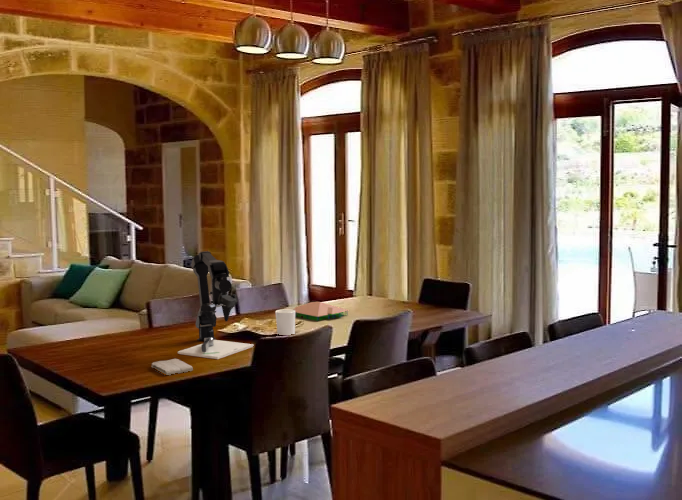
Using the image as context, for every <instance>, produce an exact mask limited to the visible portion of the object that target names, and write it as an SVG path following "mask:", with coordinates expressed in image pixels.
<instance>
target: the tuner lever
mask: <svg viewBox="0 0 682 500" xmlns="http://www.w3.org/2000/svg"><path fill="white" fill-rule="evenodd" d="M213 340H214V339H213V337H206V338H204V341H203V342H202V343H201V344H202V352H206V351H207V349H208V347H210V346H213Z"/></svg>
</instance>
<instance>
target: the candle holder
mask: <svg viewBox="0 0 682 500" xmlns="http://www.w3.org/2000/svg"><path fill="white" fill-rule="evenodd" d="M293 309H294V308H284V309H283V308H281V309H277V310H275V321H276V330H277V331H276V332H277V335H278V334H279V335H291V334H295V335H296V312H295V310H293Z"/></svg>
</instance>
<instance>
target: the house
mask: <svg viewBox="0 0 682 500" xmlns="http://www.w3.org/2000/svg"><path fill="white" fill-rule="evenodd" d="M292 309H293V310H295V318H299V317H300V315H304V318H305V319H308V318H309V319H312V320H313V321H316V322H318V318H319V322H320V321H322V320H323V319H326V320H331V319H334V320H335V319H336V316H338V317H341V316H343V317H344V316H349V315H348V312H350V309H347V308H342V307H338V306H336V305H331V304H328V303H325V302H321V301H310V302H308V303H305V304H301V305H298V306H295V307H294V308H292Z"/></svg>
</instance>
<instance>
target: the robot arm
mask: <svg viewBox="0 0 682 500" xmlns="http://www.w3.org/2000/svg"><path fill="white" fill-rule="evenodd" d="M191 269H192V272H193V273H194V275H195V276H196V277H197V278H196V279H197V285H198V286H197V288H198V295H199V310H198V311H197V317H196V320H195V328H196V329H198V337H199V338H197V339H196V340H197V341H203V342H204V338H206V337H213V340H217V339H216V337H215V334H214V328H215V327H216V325H217V316H216V313H217V310H216V309H217V308H219V307H221V309H222V314H223V318H224V321H225V322H228V321H229V318H230V315H231V311H232V309H234V308H235V307H236V305H238V303H237V302H238V295H237V294H235V293H234V294H231V295H228V292H230V291H231V289H232V282H231V281H230V280H228V278H229V277H230V271H229V268H228V266H227V264H226V263H225V261H224V260H220V259H216V257H214V256H213V255H212V253H211V251H208V250H207V251H200V252H198V254H197V255H196V256H194V257H193V258H192V260H191ZM208 274H209V276H210V278H211V280H210V281H211V291H209V290H210V289H209V282H208V281H209V280H208ZM210 295H211V300H210Z"/></svg>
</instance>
